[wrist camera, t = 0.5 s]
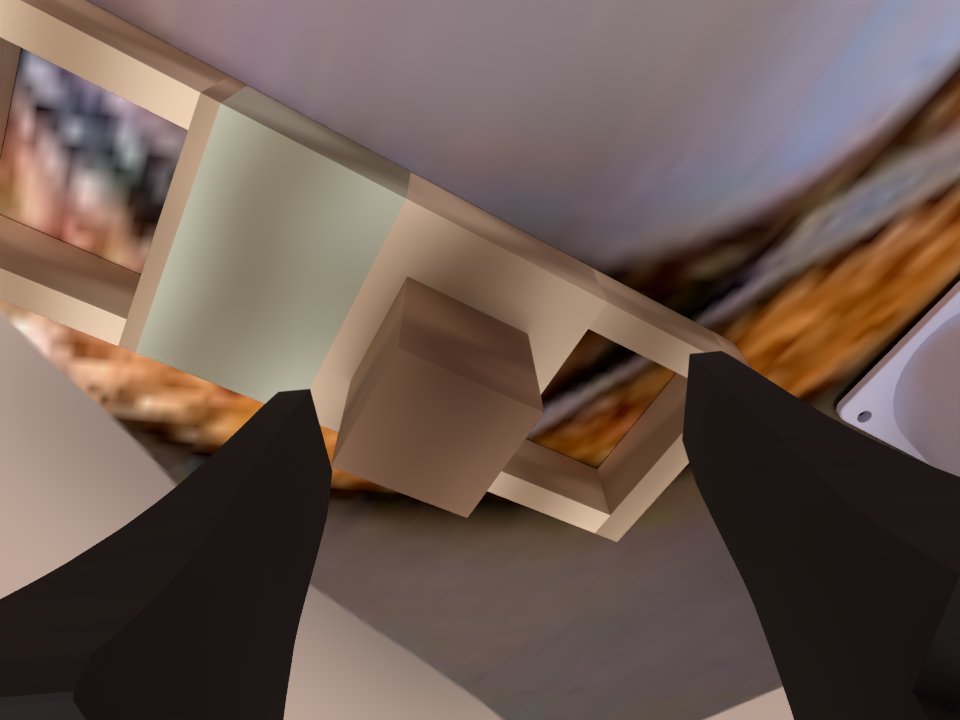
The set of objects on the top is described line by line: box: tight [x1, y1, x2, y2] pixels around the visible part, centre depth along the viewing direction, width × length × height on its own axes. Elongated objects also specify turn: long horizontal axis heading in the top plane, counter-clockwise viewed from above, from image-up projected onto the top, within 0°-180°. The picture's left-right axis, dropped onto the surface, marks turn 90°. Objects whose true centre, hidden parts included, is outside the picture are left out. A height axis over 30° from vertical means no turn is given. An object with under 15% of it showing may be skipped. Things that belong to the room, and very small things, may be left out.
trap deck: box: [0, 0, 752, 542], centre depth 21 cm, size 24×8×2 cm, turn 61°
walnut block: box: [331, 276, 544, 518], centre depth 19 cm, size 4×4×4 cm
